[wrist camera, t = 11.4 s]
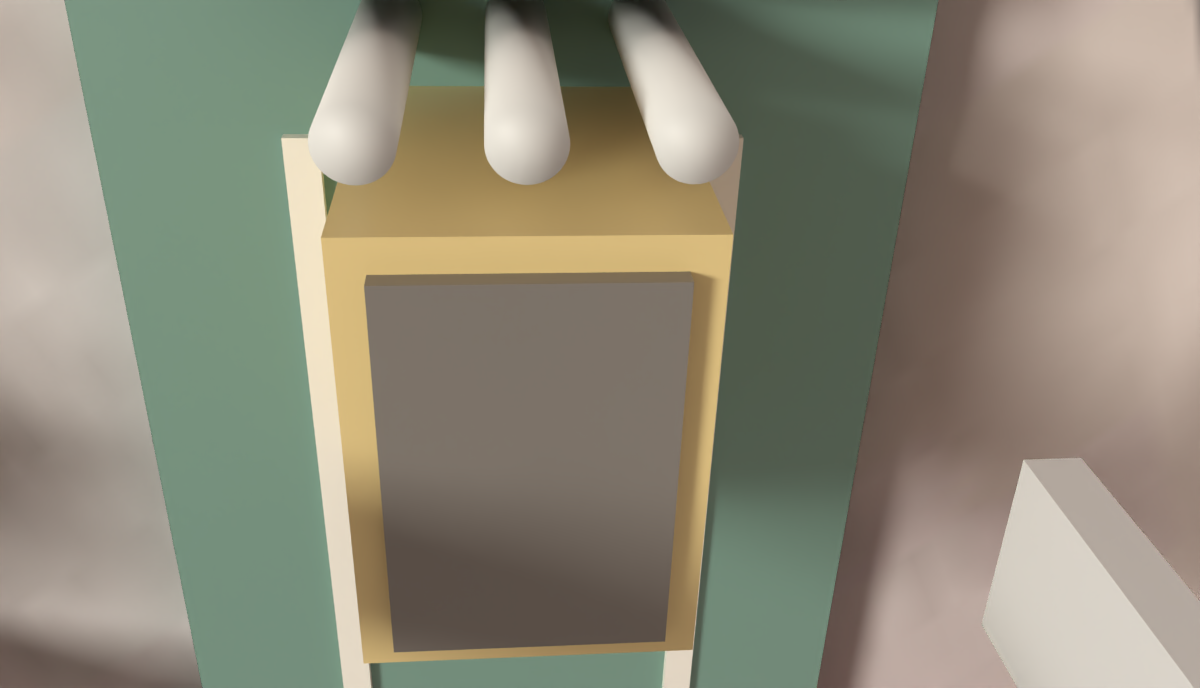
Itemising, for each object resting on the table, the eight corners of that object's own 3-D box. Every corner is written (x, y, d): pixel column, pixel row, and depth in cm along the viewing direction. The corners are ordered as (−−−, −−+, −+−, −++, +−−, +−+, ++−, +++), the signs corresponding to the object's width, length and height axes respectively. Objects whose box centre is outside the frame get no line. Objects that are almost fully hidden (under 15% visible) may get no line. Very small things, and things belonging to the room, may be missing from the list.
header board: (785, 735, 30) (869, 1027, 23) (238, 762, 28) (166, 1077, 22) (936, -186, 19) (1173, -120, 12) (58, -209, 18) (-193, -150, 11)
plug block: (645, 430, 23) (695, 664, 17) (392, 436, 22) (361, 678, 17) (666, 86, 19) (738, 244, 14) (366, 85, 19) (317, 248, 13)
